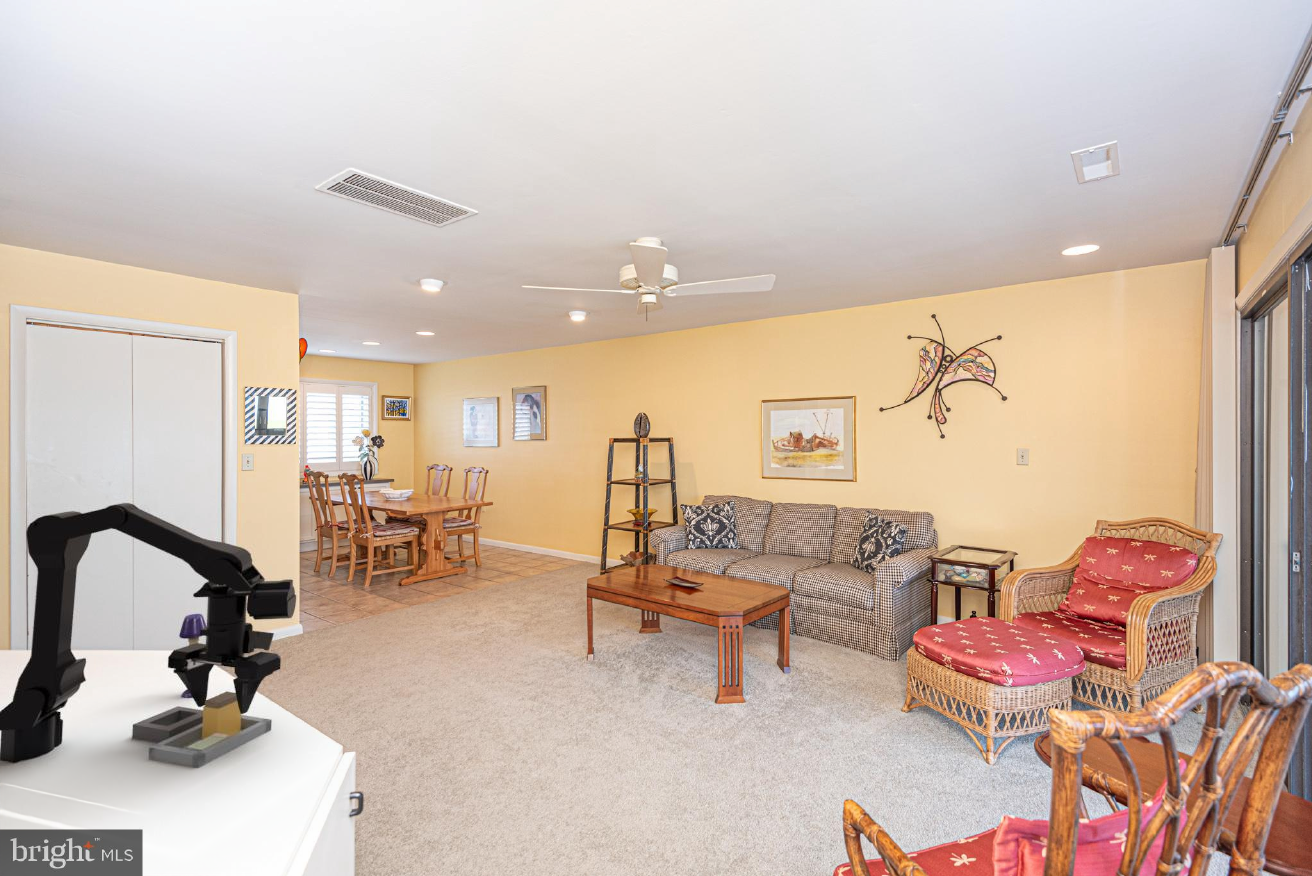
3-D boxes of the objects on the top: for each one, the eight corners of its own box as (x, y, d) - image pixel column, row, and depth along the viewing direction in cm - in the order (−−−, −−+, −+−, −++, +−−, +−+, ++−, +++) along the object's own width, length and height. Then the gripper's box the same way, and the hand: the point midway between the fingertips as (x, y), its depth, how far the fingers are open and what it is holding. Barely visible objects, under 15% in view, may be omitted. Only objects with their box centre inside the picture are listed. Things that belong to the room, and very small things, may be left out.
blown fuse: (216, 744, 108) (218, 703, 108) (201, 741, 108) (203, 700, 108) (240, 732, 112) (241, 693, 112) (225, 730, 113) (227, 691, 113)
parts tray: (197, 772, 99) (198, 756, 100) (148, 762, 102) (149, 747, 102) (271, 733, 113) (271, 719, 113) (225, 726, 115) (226, 712, 115)
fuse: (201, 762, 102) (201, 749, 102) (186, 759, 102) (186, 746, 102) (229, 747, 107) (229, 735, 107) (214, 745, 107) (215, 732, 107)
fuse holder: (168, 748, 107) (169, 730, 107) (132, 741, 108) (132, 724, 108) (211, 728, 114) (212, 711, 114) (177, 722, 116) (177, 706, 116)
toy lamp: (181, 704, 124) (184, 619, 124) (173, 698, 127) (176, 615, 127) (209, 697, 128) (212, 615, 128) (201, 691, 131) (204, 610, 131)
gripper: (306, 614, 116) (303, 698, 116) (224, 604, 120) (221, 686, 120) (255, 630, 105) (251, 724, 105) (167, 619, 110) (163, 709, 109)
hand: (222, 709), depth 110 cm, fingers open, 9 cm apart
